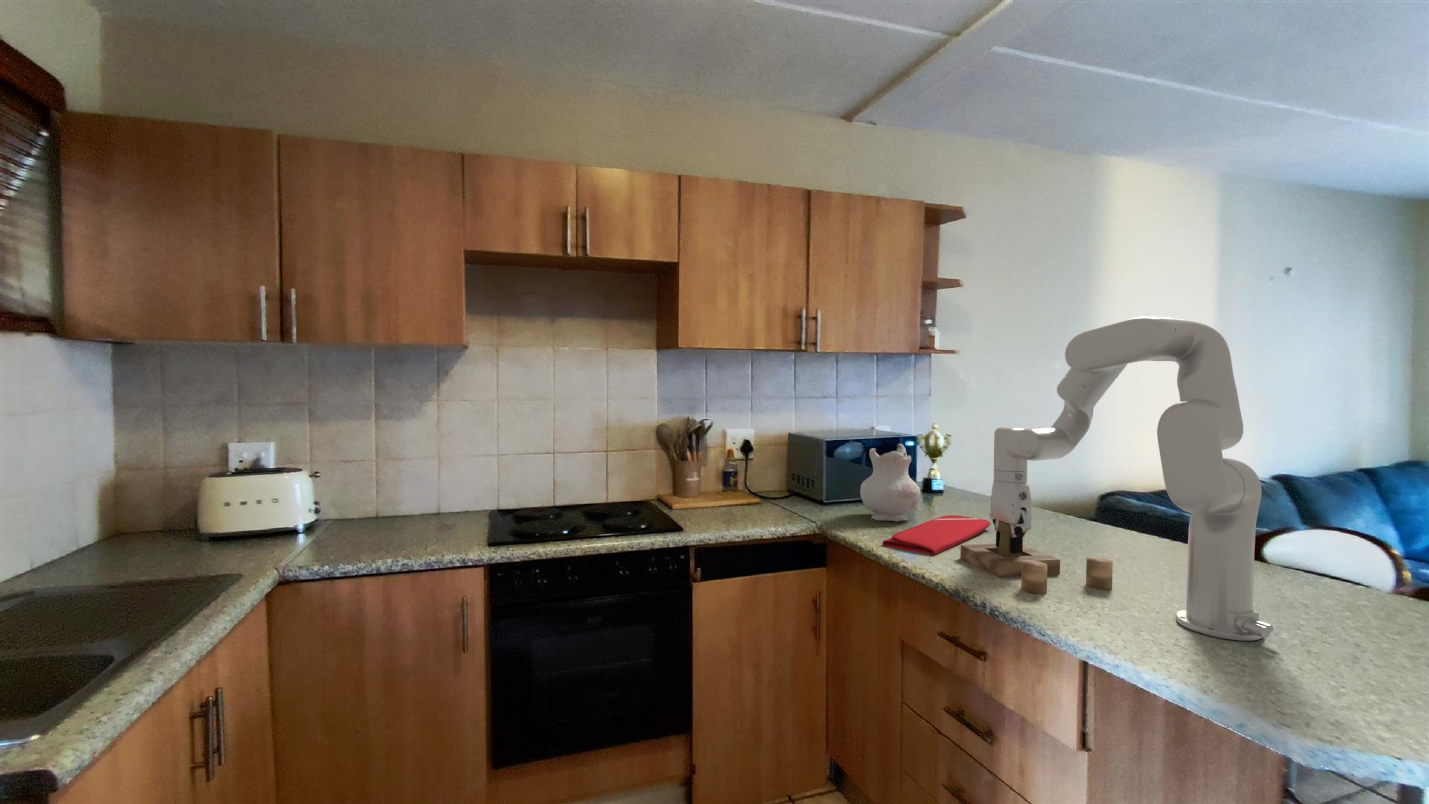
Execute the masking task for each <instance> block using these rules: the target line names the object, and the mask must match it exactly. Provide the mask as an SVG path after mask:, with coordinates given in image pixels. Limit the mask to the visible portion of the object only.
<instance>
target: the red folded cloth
mask: <svg viewBox="0 0 1429 804" xmlns="http://www.w3.org/2000/svg"><path fill="white" fill-rule="evenodd" d="M991 524H992V523H991V522H990V521H989V520H988V519H987V520H986V519H982V518H975V517H970V516H963V515H953V514H949V515H943V516H939V517H935V518H934V519H932V520H928V521H926V522H923V523H921V524H918V525H915V526H912V527H909V528H907V529H905V530H901V531H899V532H895V533H893V534H892V536H891V538H887V539H885V540H883V541H882V542H881V543H882V546H884V547H890V548H894V549H899V550H905V551H909V552H913V551H914V553H918V554H919V553H920V554H923V553H925V554H924V555H927V554H929V555H928V556H933V557H934V556H936V555H938V554H940V552H941V553H942V551H943V552H945V551H947V550H949V549H952V548H953V547H955V546H957V545H959V544H961V543H963V542H965V541H967V540H969V539H971V538H973V537H975V536H977V535H979V534H980V533H981V532H983V531H985V530H986V529H988V528H989V527H990V526H991Z"/></svg>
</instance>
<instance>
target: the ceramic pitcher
mask: <svg viewBox="0 0 1429 804" xmlns="http://www.w3.org/2000/svg"><path fill="white" fill-rule="evenodd" d="M896 447H897V448H896V450H893V451H889V452H885V453H883V454H881V455H879V454H878V453H877V452H876V451H877V447H876V448H875V447H874V448H873V447H872V448H870V449H868V450H869V453H868V454H869V459H870V461H871V463H872V464H871V465H872V469H873V470H872V473H871V475H870V476H868V477H867V478H866V479H865V480H863V481H862V482H861V485H860V488H859V489H860V491H859V494H860V499H861V501H862V503H863V505H864V506H865V508H867V509H868V510H869V511H872V515H871V517H870V520H872V519H874V520H873V521H889V522H890V521H891V522H898V523H899V522H905V521H908V517H907V516H906V515H905V514H906V513H907V514H908V513H910V512H912V511H913V510H914V509H915V508H916V507H917V506H918V503H919V501H920V498H921V495H922V494H921V489H920V486H919V485H918V483H916V481H914V480H913V479H912V478H911V477H910V475H909V467H910V464H911V462H912V456H911V455H908V454H907V450H906V447H905V446H904V444H902V443H897V445H896Z"/></svg>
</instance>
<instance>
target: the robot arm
mask: <svg viewBox="0 0 1429 804" xmlns="http://www.w3.org/2000/svg"><path fill="white" fill-rule="evenodd" d="M1064 351H1065V352H1064V358H1065V362H1066V364H1067V366H1068V367H1070V369H1069V370H1068V371H1067V372H1066V373H1065V375H1064V377H1063V378H1062V379H1061V381H1059V384H1058V385H1057V387H1056V393H1057V394H1058V396H1059V398H1060V399H1062V401H1064V402H1063V403H1064V405H1063V409H1062V411H1061V413H1060V415H1059V416H1058V418H1057V419H1056V420H1055V421H1054V423H1053V424H1052V425H1051V426H1050V427H1042V428H1041V427H1039V428H1028V429H1025V428H1022V427H1018V426H1017V427H1015V426H1011V427H1010V426H1002V427H997V428H996V429H995V430H994V432H993V434H994V435H993V437H994V438H993V482H992V488H991V496H990V513H989V518H990V520H991V521H992V524H993V525H994V532H995V543H996V547H997V548H999V540H1000V532H999V530H998V524H999V522H1000V521H1002V522H1005V523H1008V524H1010V527H1011V534H1012V537H1010V553H1022V552H1023V544H1024V537H1025V535H1026V533H1027V532H1028V531H1030V530H1031V529H1032V525H1031V524H1032V519H1033V514H1032V513H1033V508H1032V496H1031V495H1032V494H1031V490H1030V485H1029V484H1028V461H1030V462H1031V461H1032V462H1033V461H1035V462H1036V461H1045V460H1056V459H1063V458H1064V457H1066V456H1067V455H1069V454H1070V453H1072V451H1074V449H1075V448H1077V446H1078V444H1079V443H1080V442H1081V441H1082V440H1083V438H1084V437H1085V435H1086V434H1087V432H1088V431H1089V430H1090V426H1091V424H1092V421H1093V417H1094V408H1095V407H1096V404H1097V403H1099V401H1100V399H1102V397H1103V396H1104V395H1105V393H1106V392H1107V391H1108V389H1109V388H1110V387H1111V385H1112V384H1113V383H1114V382H1115V381H1116V379H1117V378H1118V377H1119V376H1120V375H1121V373H1122V372H1123V370H1124V369H1125V368H1126V367H1127V365H1128V364H1132V363H1136V362H1137V363H1138V362H1143V361H1144V362H1145V361H1148V362H1149V361H1151V362H1175V363H1177V366H1178V371H1177V378H1176V383H1177V390H1178V394H1179V402H1177V403H1174V404H1172V405H1170V406H1169V407H1167V408H1166V409H1165V410H1164V412H1163V413H1162V414H1161V416H1160V417H1159V420H1158V423H1157V428H1156V435H1157V444H1158V451H1159V455H1160V457H1159V458H1160V464H1161V469H1162V470H1161V471H1162V476H1163V481H1164V487H1165V490H1166V493H1167V495H1168V497H1169V498H1170V500H1171V501H1172V503H1173V504H1174V505H1175V506H1177V507H1178V508H1179V509H1181V510H1182V511H1184V512H1186V513H1189V514H1191V515H1190V518H1189V523H1188V524H1189V525H1188V540H1187V572H1186V573H1187V574H1186V598H1185V599H1186V604H1185V605H1186V607H1185V609H1182V610H1179V611H1177V612H1176V613H1175V620H1176V621H1177V622H1178V623H1179V624H1180V625H1181V626H1183V627H1185V628H1186V629H1189V630H1191V631H1194V632H1197V633H1201V634H1204V635H1207V636H1211V637H1215V638H1219V639H1224V640H1225V639H1227V640H1233V641H1242V642H1243V641H1245V642H1247V641H1248V642H1250V641H1257V640H1260V639H1262V638H1263V639H1267V638H1268V637H1270V635H1271V633H1273V631H1274V627H1273V625H1272V624H1269V623H1266V622H1262V621H1260V619H1259V617H1260V612H1259V611H1256V610H1253V608H1254V607H1253V604H1254V603H1253V602H1254V577H1255V576H1254V575H1255V550H1256V548H1255V547H1256V546H1255V545H1256V528H1257V520H1258V515H1259V510H1260V506H1261V505H1260V504H1261V501H1262V484H1261V480H1260V477H1259V476H1258V474H1257V472H1256V471H1255V470H1254V469H1253V468H1252V467H1251V466H1249V465H1247V464H1246V463H1244V462H1243V461H1240V460H1237V459H1233V458H1228V457H1227V458H1225V457H1224V456H1223V451H1224V450H1227V449H1230V448H1232V447H1235V446H1236V445H1237V444H1238V443H1239V442H1240V441H1241V440H1242V438H1243V434H1244V422H1243V417H1242V411H1241V406H1240V402H1239V396H1238V390H1237V386H1236V385H1237V384H1236V381H1235V380H1236V379H1235V375H1234V369H1233V363H1232V357H1231V351H1230V348H1229V345H1228V342H1227V341H1226V339H1225V338H1224V336H1223V335H1222V334H1221V333H1220V332H1218V331H1217V330H1216V329H1215V328H1213V327H1211V326H1210V325H1207V324H1204V323H1201V322H1197V321H1192V320H1188V319H1186V320H1185V319H1180V318H1172V317H1158V316H1139V317H1133V318H1128V319H1126V320H1123V321H1118V322H1116V323H1112V324H1107V325H1104V326H1100V327H1097V328H1093V329H1090V330H1086V331H1084V332H1081V333H1079V334H1077V335H1075V336H1074V337H1073V338H1072V339H1071V340H1070V341H1069V342H1068V344H1067V346H1066V348H1065V350H1064ZM1017 523H1019V524H1017ZM1016 527H1019V528H1018V529H1017V530H1016Z"/></svg>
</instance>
